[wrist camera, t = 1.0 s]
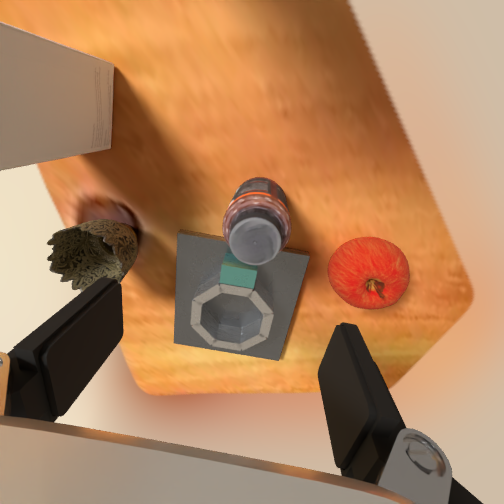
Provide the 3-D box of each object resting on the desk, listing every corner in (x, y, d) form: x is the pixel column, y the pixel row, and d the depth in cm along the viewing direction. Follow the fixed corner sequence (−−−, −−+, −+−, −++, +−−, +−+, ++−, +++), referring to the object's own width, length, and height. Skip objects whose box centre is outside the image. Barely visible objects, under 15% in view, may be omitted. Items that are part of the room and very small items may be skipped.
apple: (405, 246, 30) (447, 283, 23) (360, 294, 33) (385, 339, 26) (351, 214, 29) (378, 242, 22) (310, 267, 32) (322, 306, 25)
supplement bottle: (223, 195, 29) (198, 231, 19) (267, 164, 27) (265, 185, 17) (253, 236, 31) (245, 288, 21) (295, 209, 29) (309, 252, 19)
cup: (101, 195, 30) (48, 215, 23) (161, 221, 31) (127, 249, 23) (91, 246, 33) (41, 279, 26) (146, 269, 34) (112, 306, 27)
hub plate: (180, 229, 31) (168, 243, 27) (308, 251, 31) (313, 268, 27) (176, 337, 39) (166, 359, 35) (278, 354, 39) (279, 378, 35)
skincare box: (56, 42, 24) (-224, -72, 10) (120, 65, 24) (-68, -16, 11) (59, 136, 27) (-145, 143, 14) (114, 155, 28) (-31, 178, 14)
